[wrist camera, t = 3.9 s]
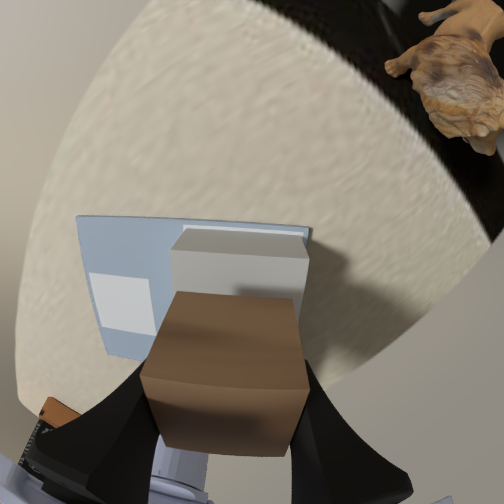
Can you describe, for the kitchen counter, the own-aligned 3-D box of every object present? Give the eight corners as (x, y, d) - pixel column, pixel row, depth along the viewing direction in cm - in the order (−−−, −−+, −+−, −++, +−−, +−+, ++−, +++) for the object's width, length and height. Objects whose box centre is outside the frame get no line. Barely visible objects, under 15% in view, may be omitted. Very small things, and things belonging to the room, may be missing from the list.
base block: (286, 326, 20) (290, 360, 16) (190, 319, 20) (179, 351, 16) (300, 235, 17) (309, 259, 14) (186, 227, 17) (170, 249, 14)
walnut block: (278, 375, 14) (284, 456, 9) (185, 368, 14) (165, 446, 9) (292, 298, 12) (309, 389, 7) (177, 290, 12) (139, 375, 7)
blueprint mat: (283, 373, 22) (283, 375, 22) (108, 352, 22) (107, 354, 22) (308, 226, 17) (308, 228, 17) (78, 215, 17) (75, 216, 17)
